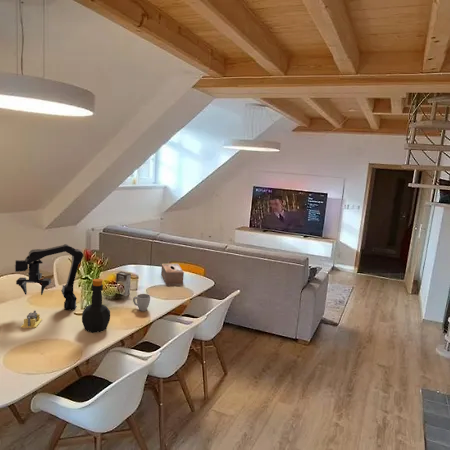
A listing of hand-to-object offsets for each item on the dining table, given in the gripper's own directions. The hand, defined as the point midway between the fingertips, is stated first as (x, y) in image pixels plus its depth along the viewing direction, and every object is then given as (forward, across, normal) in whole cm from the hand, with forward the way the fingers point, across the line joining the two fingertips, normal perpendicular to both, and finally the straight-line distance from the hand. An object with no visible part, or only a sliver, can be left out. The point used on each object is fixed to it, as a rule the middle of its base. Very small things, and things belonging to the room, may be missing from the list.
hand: (33, 294), depth 237 cm
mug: (+12, -65, -10) cm, 67 cm away
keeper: (+12, -4, +16) cm, 20 cm away
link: (+11, -4, +16) cm, 20 cm away
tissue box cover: (+13, -88, -78) cm, 118 cm away
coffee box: (+12, -50, -38) cm, 64 cm away
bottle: (+12, -41, +21) cm, 47 cm away
